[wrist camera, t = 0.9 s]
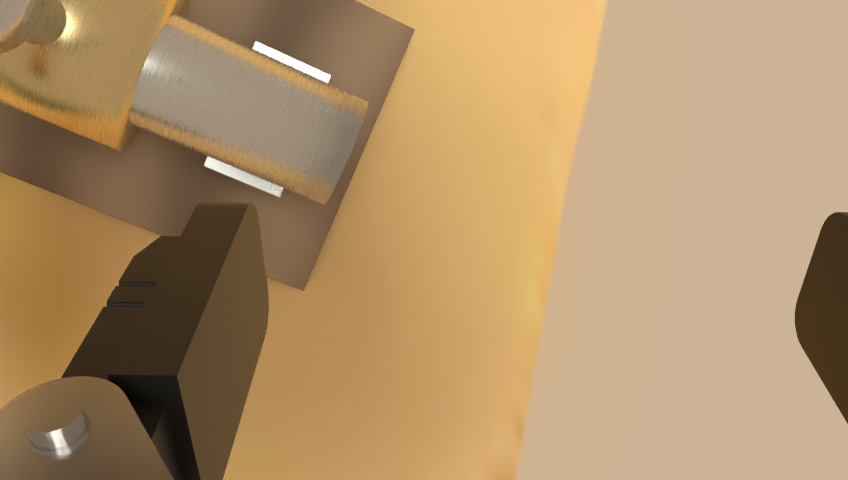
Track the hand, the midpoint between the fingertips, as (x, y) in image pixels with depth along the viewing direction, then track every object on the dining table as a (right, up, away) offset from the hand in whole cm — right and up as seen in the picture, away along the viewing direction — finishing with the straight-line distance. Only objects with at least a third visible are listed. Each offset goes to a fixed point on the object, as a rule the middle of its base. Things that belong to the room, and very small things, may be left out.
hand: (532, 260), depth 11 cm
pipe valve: (-14, +8, +19) cm, 25 cm away
